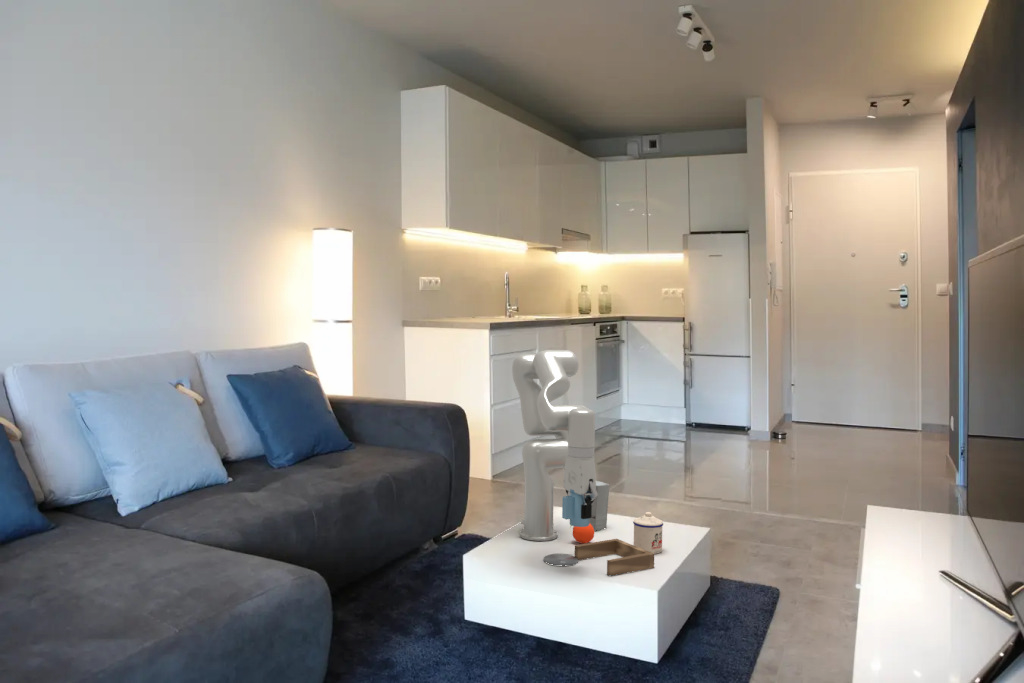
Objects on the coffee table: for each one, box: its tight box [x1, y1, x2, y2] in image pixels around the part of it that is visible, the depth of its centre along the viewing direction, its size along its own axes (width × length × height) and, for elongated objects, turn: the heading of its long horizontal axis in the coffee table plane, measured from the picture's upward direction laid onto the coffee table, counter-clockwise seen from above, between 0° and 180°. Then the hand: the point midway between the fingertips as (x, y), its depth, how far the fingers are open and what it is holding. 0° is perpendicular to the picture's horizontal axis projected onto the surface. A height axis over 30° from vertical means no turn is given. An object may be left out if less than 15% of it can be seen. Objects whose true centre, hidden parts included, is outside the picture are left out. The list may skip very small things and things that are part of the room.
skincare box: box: [589, 480, 610, 532], centre depth 255 cm, size 8×7×16 cm
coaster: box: [543, 553, 579, 567], centre depth 219 cm, size 10×10×1 cm
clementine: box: [569, 523, 595, 544], centre depth 237 cm, size 8×7×7 cm
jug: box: [561, 489, 590, 527], centre depth 212 cm, size 8×6×10 cm
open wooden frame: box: [574, 538, 655, 576], centre depth 217 cm, size 17×16×4 cm
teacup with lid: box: [632, 511, 664, 555], centre depth 232 cm, size 12×9×12 cm
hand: (579, 515), depth 212 cm, fingers closed on jug, 5 cm apart
